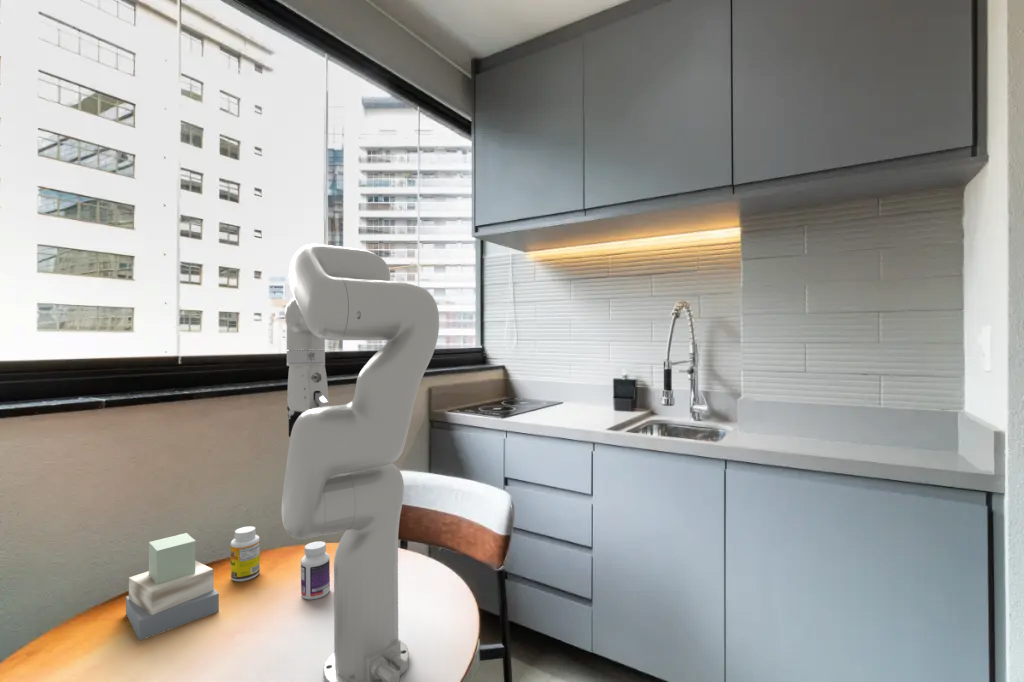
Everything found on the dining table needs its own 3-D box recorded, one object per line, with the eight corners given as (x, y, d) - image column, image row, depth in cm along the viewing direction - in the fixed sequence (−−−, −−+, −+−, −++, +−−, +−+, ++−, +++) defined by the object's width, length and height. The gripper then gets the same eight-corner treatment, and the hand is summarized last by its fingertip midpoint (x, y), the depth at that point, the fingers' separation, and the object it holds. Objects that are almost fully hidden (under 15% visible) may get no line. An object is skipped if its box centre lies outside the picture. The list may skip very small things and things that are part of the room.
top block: (213, 590, 91) (213, 569, 91) (152, 615, 83) (152, 592, 83) (188, 577, 97) (188, 557, 97) (128, 599, 88) (128, 577, 88)
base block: (218, 614, 90) (218, 593, 90) (139, 644, 81) (139, 620, 81) (200, 593, 98) (200, 573, 98) (125, 618, 89) (125, 596, 89)
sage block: (195, 572, 90) (195, 540, 90) (156, 584, 85) (156, 550, 86) (186, 563, 94) (186, 532, 94) (148, 574, 89) (149, 542, 90)
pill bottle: (334, 587, 99) (334, 540, 99) (321, 601, 93) (321, 551, 93) (309, 586, 99) (309, 539, 99) (295, 599, 94) (295, 550, 94)
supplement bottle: (231, 574, 105) (231, 527, 105) (259, 568, 107) (259, 523, 108) (229, 585, 100) (229, 536, 100) (259, 578, 103) (259, 531, 103)
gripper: (342, 358, 99) (343, 441, 98) (305, 358, 110) (305, 432, 110) (306, 359, 93) (307, 447, 93) (271, 358, 105) (271, 436, 104)
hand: (306, 438), depth 101 cm, fingers open, 9 cm apart
